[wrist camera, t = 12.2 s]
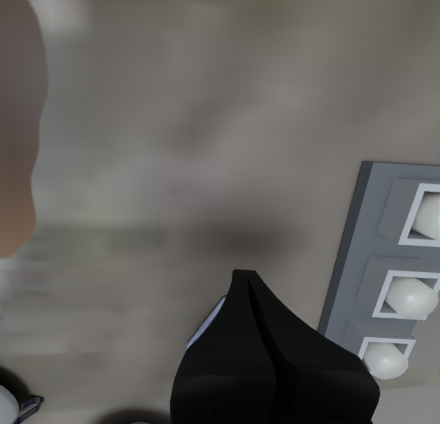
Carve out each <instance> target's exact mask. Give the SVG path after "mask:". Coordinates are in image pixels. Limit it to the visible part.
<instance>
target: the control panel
mask: <svg viewBox="0 0 440 424" xmlns="http://www.w3.org/2000/svg"><path fill="white" fill-rule="evenodd" d="M424 191H428V192H433V193H438V194H440V166H431V165H414V164H398V163H382V162H366V161H362V165H361V169H360V173H359V177H358V180H357V184H356V188H355V192H354V195H353V199H352V203H351V207H350V211H349V214H348V218H347V222H346V226H345V229H344V233H343V237H342V241H341V245H340V248H339V252H338V256H337V260H336V263H335V267H334V271H333V275H332V279H331V282H330V286H329V290H328V294H327V297H326V301H325V305H324V309H323V313H322V316H321V320H320V324H319V328H318V333H320V334H321V335H323V336H324V337H326V338H328V339H329V340H331V341H332V342H334V343H335V344H337V345H339V346H341V347H343V348H344V349H346V350H348V351H350V352H352V353H353V354H355V355H357V356H359V358H360V359H361V360H362V362H363V363H364V364H365V366H366V367H367V369H368V370H369V372H370V373H371V375H374V374H373V373H372V372H371V370H370V368H369V367H368V365H367V364H366V362H365V361H364V359H363V356H364V353H365V350H366V348H367V345H368V342H383V343H393V344H394V345H395V346H396V347H397V349H398V350H399V351H400V352H401V353H402V354H403V355H404V357H405V358H406V359H408V357H409V354H410V352H411V350H412V348H413V346H414V344H415V341H416V339H415V338H414V337H413V336H412V335H411V332H412V330H413V328H414V325H415V323H416V321H417V320H426V318H427V316H428V315H427V316H425V317H422V318H419V319H405V318H403V317H401V316H400V315H399V314H398V313H397V312H396V311H395V310H394V309H393V308H392V307H391V306H390V305H388V304H387V303H386V302H385V301H384V299H385V296H386V294H387V291H388V288H389V286H390V283H391V280H392V278H393V276H399V277H415V278H417V279H418V280H419V281H421V282H422V283H424V284H425V285H427V286H428V287H430V288H431V289H433V290H434V291H435V292H436V293H437V294H438V292H439V290H440V241H438V240H435V239H433V238H431V237H429V236H426V235H424V234H422V233H419V232H417V231H415V230H412V229H411V226H412V224H413V221H414V218H415V216H416V213H417V210H418V207H419V205H420V202H421V199H422V197H423V194H424ZM398 377H399V376H398Z"/></svg>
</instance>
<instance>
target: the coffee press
mask: <svg viewBox="0 0 440 424" xmlns="http://www.w3.org/2000/svg"><path fill="white" fill-rule="evenodd" d="M33 403H39V404H38V405H37V406H35V407H34V408H32V409H31V410H29V411H28V412H26V413H25V414H23V415H22V416H21V417H20V418H19V409H23V408H25V407H27V406H29V405H31V404H33ZM40 406H41V397H40V396H35V397H33V398H31V399H29V400H27V401H24V402H21V403H17V401H16V399H15V397H14V396H13V395H12V394H11V393H10V392H9V391H8V390H7V389H6V388H4V387H3V386H1V385H0V424H20V423H21V422H23V421H24V420H25V419H27V418H28V417H30V416H31V415H33V414H34V413H36V412H37V411H38V410H39V409H40Z"/></svg>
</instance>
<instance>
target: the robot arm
mask: <svg viewBox="0 0 440 424" xmlns="http://www.w3.org/2000/svg"><path fill="white" fill-rule="evenodd" d="M379 397H380V389H379V386H378V385H377V383H376V381H375V380H374V378H373V377H372V375H371V373H370V372H369V370H368V369H367V367H366V366H365V364H364V363H363V362H362V360H361V359H360V358H359V356H357V355H355V354H353V353H352V352H350V351H348V350H346V349H344V348H343V347H341V346H339V345H337V344H335V343H334V342H332V341H331V340H329V339H328V338H326V337H324V336H323V335H321V334H320V333H318V332H317V331H315V330H314V329H313V328H311V327H310V326H309V325H307V324H306V323H305V322H303V321H302V320H301V319H300V318H298V317H297V316H296V315H295V314H294V313H292V312H291V311H290V310H289V309H288V308H287V307H286V306H285V305H284V304H283V303H282V302H281V301H280V300H279V299H278V298H277V297H276V296H275V295H274V294H273V292H272V291H271V290H270V289H269V288H268V287H267V285H266V284H265V283H264V282H263V280H262V279H261V278H260V276H259V275H258V274H257V272H256V271H255V270H238V269H235V270H233V274H232V282H231V285H230V288H229V291H228V294H227V296H226V297H223V298H222V300H221V301H220V302H219V304H218V305H217V306H216V307H215V309H214V310H213V311H212V313H211V314H210V315H209V316H208V318H207V319H206V320H205V322H204V323H203V324H202V325H201V327H200V328H199V329H198V331H197V332H196V333H195V334H194V336H193V337H192V338H191V340H190V341H189V342H188V343H187V351H186V353H185V355H184V357H183V359H182V361H181V363H180V366H179V368H178V371H177V373H176V376H175V379H174V383H173V388H172V394H171V399H170V421H171V424H373V423H372V421H371V418H372V416H373V413H374V411H375V409H376V407H377V404H378V401H379Z"/></svg>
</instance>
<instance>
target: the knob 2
mask: <svg viewBox="0 0 440 424" xmlns="http://www.w3.org/2000/svg"><path fill="white" fill-rule="evenodd" d="M411 229H412V230H415V231H417V232H419V233H422V234H424V235H426V236H429V237H431V238H433V239H435V240H438V241H440V194H438V193H433V192H428V191H424V194H423V197H422V199H421V202H420V205H419V207H418V210H417V213H416V216H415V218H414V221H413V224H412V226H411Z"/></svg>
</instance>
